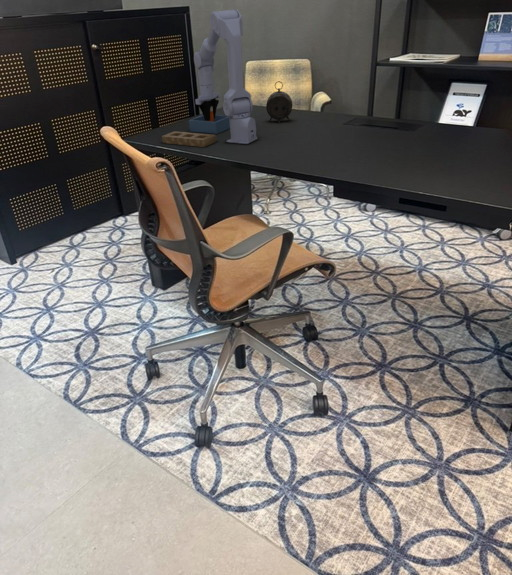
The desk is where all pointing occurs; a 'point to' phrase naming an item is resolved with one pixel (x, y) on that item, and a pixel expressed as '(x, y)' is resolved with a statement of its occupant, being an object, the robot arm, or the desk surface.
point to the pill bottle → (211, 114)
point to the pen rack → (189, 139)
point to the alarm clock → (279, 105)
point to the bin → (209, 124)
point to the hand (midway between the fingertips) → (210, 119)
